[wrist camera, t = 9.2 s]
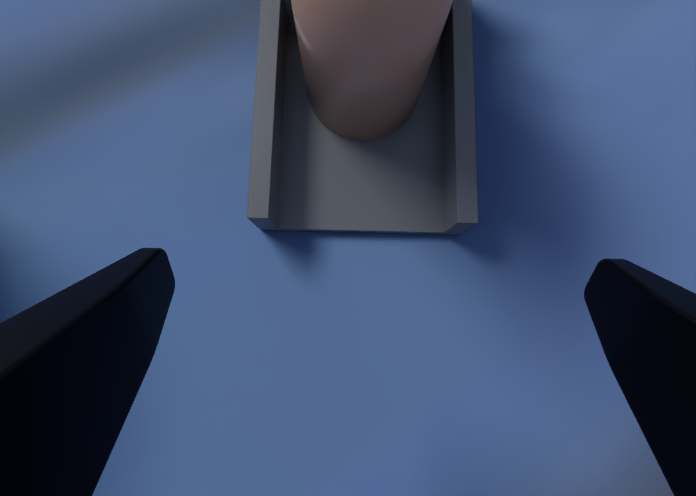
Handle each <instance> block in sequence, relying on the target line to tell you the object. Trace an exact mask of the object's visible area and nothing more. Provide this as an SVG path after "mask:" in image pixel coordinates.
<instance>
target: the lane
mask: <svg viewBox="0 0 696 496" xmlns="http://www.w3.org/2000/svg"><path fill="white" fill-rule="evenodd" d="M247 218H248V219H249V220H250V221H251V222H253V223H254V224H255V225H256V226H257V227H258V228H259V229H260V230H286V231H328V232H370V233H412V234H455V235H460V234H461V233H463V232H465V231H466V230H468V229H469V228H471V227H473V226H474V225H476V224H477V223H478V196H477V162H476V128H475V94H474V60H473V26H472V0H453V3H452V5H451V8H450V11H449V14H448V17H447V19H446V22H445V25H444V28H443V31H442V34H441V36H440V39H439V42H438V45H437V48H436V50H435V53H434V56H433V59H432V62H431V64H430V67H429V70H428V73H427V76H426V79H425V81H424V84H423V87H422V90H421V93H420V95H419V98H418V101H417V104H416V107H415V109H414V111H413V113H412V115H411V116H410V118H409V119H408V121H407V122H406V123H405V124H404V125H403V126H402V127H400V128H399V129H398V130H397V131H395V132H393V133H392V134H390V135H387V136H385V137H382V138H379V139H375V140H366V141H361V140H352V139H348V138H345V137H342V136H339V135H337V134H335V133H333V132H332V131H330V130H329V129H328V128H326V127H325V126H324V125H323V124H322V123H321V122H320V121H319V120H318V118H317V117H316V115H315V114H314V112H313V110H312V108H311V106H310V103H309V100H308V94H307V88H306V83H305V77H304V71H303V66H302V60H301V55H300V49H299V43H298V38H297V32H292V31H291V26H290V21H289V16H288V10H287V5H286V0H261V5H260V20H259V36H258V52H257V67H256V83H255V99H254V114H253V130H252V146H251V161H250V177H249V192H248V208H247Z"/></svg>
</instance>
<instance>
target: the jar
mask: <svg viewBox="0 0 696 496" xmlns="http://www.w3.org/2000/svg"><path fill="white" fill-rule="evenodd" d="M452 3H453V0H291V4H292V9H293V15H294V21H295V26H296V32H297V38H298V43H299V49H300V55H301V60H302V66H303V71H304V77H305V83H306V88H307V94H308V100H309V103H310V106H311V108H312V110H313V112H314V114H315V115H316V117H317V118H318V120H319V121H320V122H321V123H322V124H323V125H324V126H325V127H326V128H328V129H329V130H330V131H332V132H333V133H335V134H337V135H339V136H342V137H345V138H348V139H352V140H361V141H366V140H375V139H379V138H382V137H385V136H387V135H390V134H392V133H393V132H395V131H397V130H398V129H399V128H400V127H402V126H403V125H404V124H405V123H406V122H407V121H408V119H409V118H410V116H411V115H412V113H413V111H414V109H415V107H416V104H417V101H418V98H419V95H420V93H421V90H422V87H423V84H424V81H425V79H426V76H427V73H428V70H429V67H430V64H431V62H432V59H433V56H434V53H435V50H436V48H437V45H438V42H439V39H440V36H441V34H442V31H443V28H444V25H445V22H446V19H447V17H448V14H449V11H450V8H451V5H452Z"/></svg>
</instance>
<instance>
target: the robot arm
mask: <svg viewBox="0 0 696 496" xmlns="http://www.w3.org/2000/svg"><path fill="white" fill-rule="evenodd" d="M174 289H175V279H174V275H173V272H172V269H171V266H170V263H169V260H168V257H167V254H166V252H165V251H164V250H163V249H161V248H141V249H139V250H137V251H135V252H133V253H131V254H130V255H128V256H126V257H124V258H122V259H120V260H118V261H116V262H114V263H113V264H111V265H109V266H107V267H105V268H103V269H101V270H99V271H98V272H96V273H94V274H92V275H90V276H88V277H86V278H84V279H83V280H81V281H79V282H77V283H75V284H73V285H71V286H69V287H68V288H66V289H64V290H62V291H60V292H58V293H56V294H54V295H52V296H51V297H49V298H47V299H45V300H43V301H41V302H39V303H37V304H36V305H34V306H32V307H30V308H28V309H26V310H24V311H22V312H21V313H19V314H17V315H15V316H13V317H11V318H9V319H7V320H6V321H4V322H2V323H0V496H92V495H93V492H94V490H95V488H96V486H97V483H98V481H99V479H100V476H101V474H102V472H103V470H104V467H105V465H106V463H107V461H108V458H109V456H110V454H111V452H112V449H113V447H114V445H115V443H116V440H117V438H118V436H119V433H120V431H121V429H122V427H123V424H124V422H125V420H126V418H127V415H128V413H129V411H130V409H131V406H132V404H133V402H134V399H135V397H136V395H137V393H138V390H139V388H140V386H141V384H142V381H143V379H144V377H145V375H146V372H147V370H148V368H149V365H150V363H151V361H152V358H153V356H154V353H155V350H156V347H157V345H158V342H159V338H160V335H161V332H162V329H163V325H164V322H165V319H166V316H167V312H168V309H169V306H170V303H171V299H172V296H173V293H174ZM584 298H585V302H586V304H587V307H588V310H589V312H590V315H591V318H592V321H593V323H594V326H595V329H596V331H597V334H598V337H599V339H600V342H601V345H602V348H603V350H604V353H605V355H606V358H607V360H608V363H609V365H610V367H611V369H612V372H613V374H614V376H615V378H616V380H617V382H618V384H619V386H620V388H621V390H622V392H623V394H624V396H625V398H626V400H627V402H628V404H629V406H630V408H631V410H632V412H633V414H634V416H635V418H636V420H637V422H638V424H639V426H640V428H641V430H642V432H643V434H644V436H645V438H646V440H647V442H648V444H649V446H650V448H651V450H652V452H653V454H654V456H655V458H656V460H657V462H658V464H659V466H660V468H661V470H662V472H663V474H664V476H665V478H666V480H667V482H668V484H669V486H670V488H671V490H672V492H673V494H674V496H696V294H695V293H693V292H691V291H689V290H687V289H685V288H683V287H681V286H679V285H677V284H675V283H673V282H670V281H668V280H666V279H664V278H662V277H660V276H658V275H656V274H654V273H652V272H650V271H648V270H646V269H644V268H642V267H640V266H638V265H636V264H634V263H632V262H629V261H627V260H624V259H603V260H601V261H600V262H599V263H598V264H597V266H596V268H595V270H594V272H593V273H592V275H591V277H590V279H589V281H588V283H587V285H586V287H585V291H584Z"/></svg>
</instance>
